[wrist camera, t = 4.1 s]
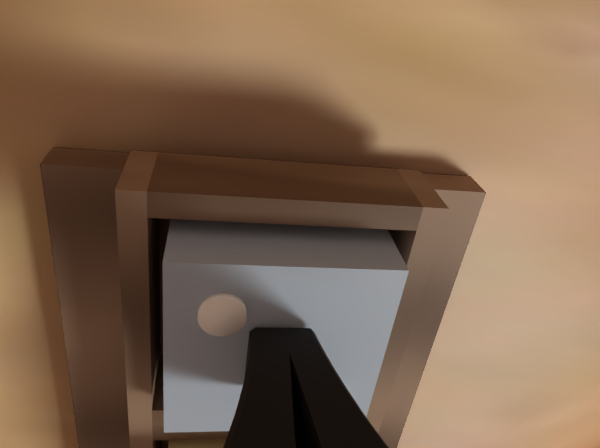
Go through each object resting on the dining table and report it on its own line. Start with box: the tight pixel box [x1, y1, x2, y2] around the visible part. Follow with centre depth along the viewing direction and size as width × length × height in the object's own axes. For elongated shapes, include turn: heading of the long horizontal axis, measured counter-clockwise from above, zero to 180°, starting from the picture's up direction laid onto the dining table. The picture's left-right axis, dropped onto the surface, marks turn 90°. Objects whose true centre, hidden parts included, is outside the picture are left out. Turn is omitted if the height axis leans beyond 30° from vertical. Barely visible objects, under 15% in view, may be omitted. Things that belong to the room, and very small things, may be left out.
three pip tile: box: [163, 219, 409, 433], centre depth 12 cm, size 5×5×2 cm
